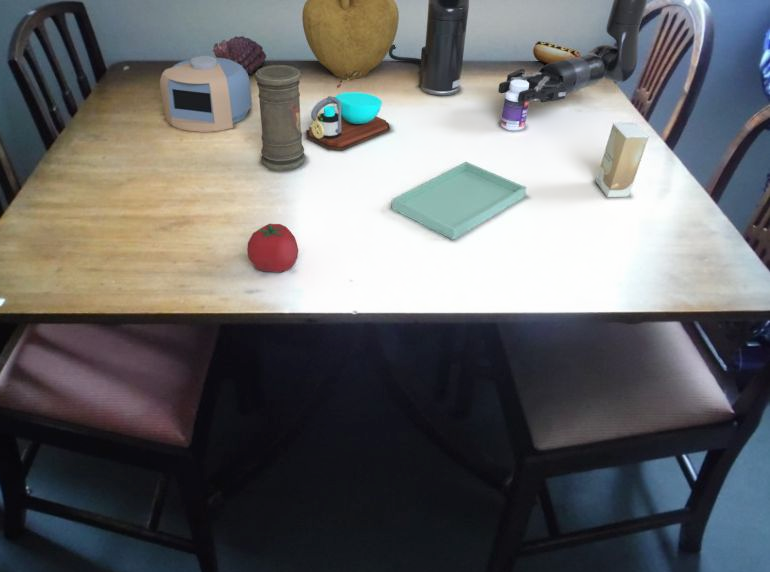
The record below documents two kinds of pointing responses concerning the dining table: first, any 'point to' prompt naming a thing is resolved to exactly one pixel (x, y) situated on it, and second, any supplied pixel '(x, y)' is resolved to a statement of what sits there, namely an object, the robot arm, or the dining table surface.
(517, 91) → the pill bottle
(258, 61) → the pine cone
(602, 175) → the cosmetic box
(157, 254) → the dining table surface
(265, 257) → the tomato
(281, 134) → the container
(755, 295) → the dining table surface
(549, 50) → the hot dog
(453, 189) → the tray
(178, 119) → the alarm clock
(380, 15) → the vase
